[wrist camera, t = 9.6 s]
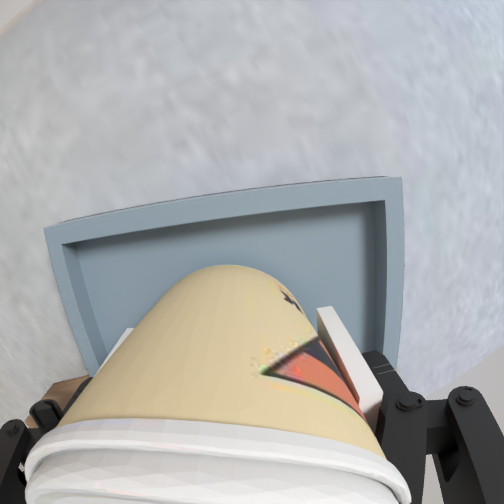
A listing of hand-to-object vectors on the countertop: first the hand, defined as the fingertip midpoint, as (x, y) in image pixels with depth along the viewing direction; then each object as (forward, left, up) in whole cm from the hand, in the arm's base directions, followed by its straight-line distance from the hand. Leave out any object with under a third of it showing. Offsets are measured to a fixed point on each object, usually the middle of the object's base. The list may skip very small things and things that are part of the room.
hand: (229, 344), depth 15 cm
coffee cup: (0, 0, -1) cm, 1 cm away
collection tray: (0, 0, -3) cm, 3 cm away
